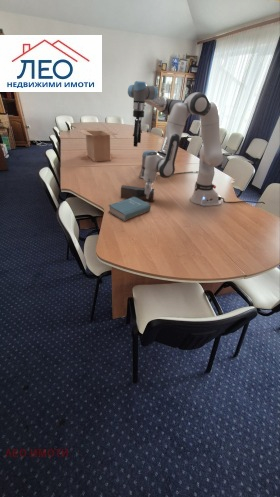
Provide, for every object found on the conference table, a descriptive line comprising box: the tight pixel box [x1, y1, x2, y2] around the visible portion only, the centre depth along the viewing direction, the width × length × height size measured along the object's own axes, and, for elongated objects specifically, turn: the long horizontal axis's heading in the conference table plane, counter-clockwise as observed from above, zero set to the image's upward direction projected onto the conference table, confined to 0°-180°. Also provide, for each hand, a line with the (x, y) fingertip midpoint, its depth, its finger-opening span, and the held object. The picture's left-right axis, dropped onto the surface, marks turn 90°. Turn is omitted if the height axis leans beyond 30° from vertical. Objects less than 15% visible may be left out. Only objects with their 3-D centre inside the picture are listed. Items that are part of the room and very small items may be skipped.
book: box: [108, 197, 152, 222], centre depth 146 cm, size 23×16×5 cm
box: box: [77, 128, 118, 163], centre depth 240 cm, size 44×36×27 cm
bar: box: [120, 184, 155, 203], centre depth 163 cm, size 24×5×8 cm, turn 81°
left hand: (137, 144), depth 160 cm, fingers open, 13 cm apart
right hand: (148, 195), depth 163 cm, fingers open, 8 cm apart
